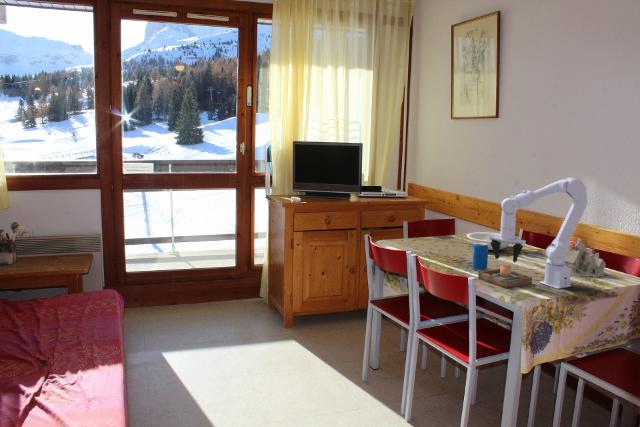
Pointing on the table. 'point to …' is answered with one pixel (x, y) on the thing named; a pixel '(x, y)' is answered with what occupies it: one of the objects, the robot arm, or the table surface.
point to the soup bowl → (485, 239)
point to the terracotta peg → (505, 270)
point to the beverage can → (480, 256)
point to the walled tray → (511, 282)
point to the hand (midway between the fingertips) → (505, 260)
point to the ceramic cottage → (584, 261)
